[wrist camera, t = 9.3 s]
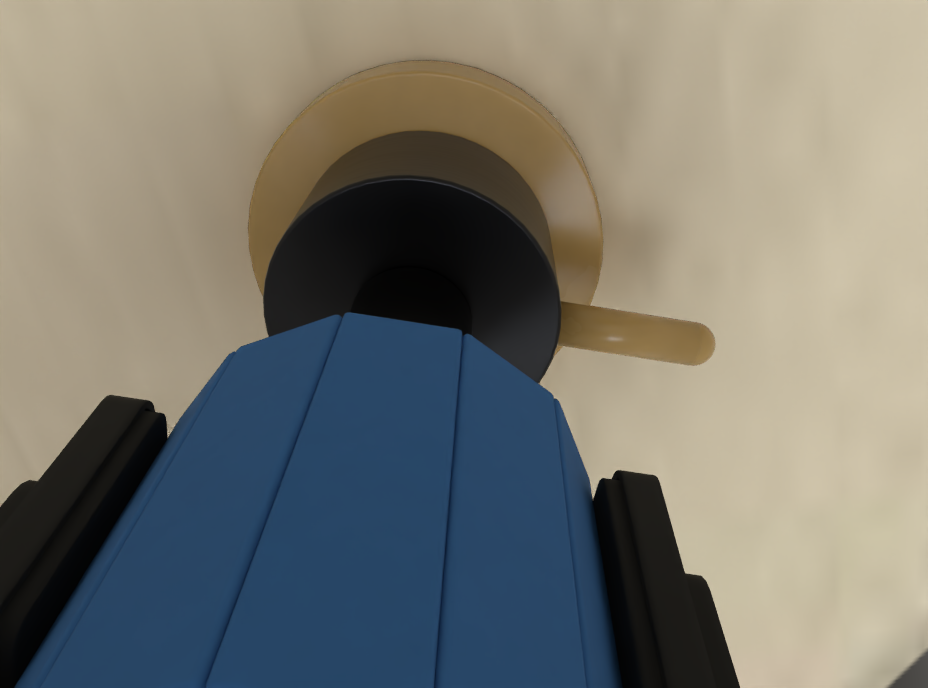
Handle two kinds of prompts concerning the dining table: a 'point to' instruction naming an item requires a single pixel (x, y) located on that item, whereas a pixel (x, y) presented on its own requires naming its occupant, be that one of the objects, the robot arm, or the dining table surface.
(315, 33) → the dining table surface
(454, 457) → the sleeve
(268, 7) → the dining table surface
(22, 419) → the dining table surface
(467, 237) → the peg stand
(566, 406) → the dining table surface
